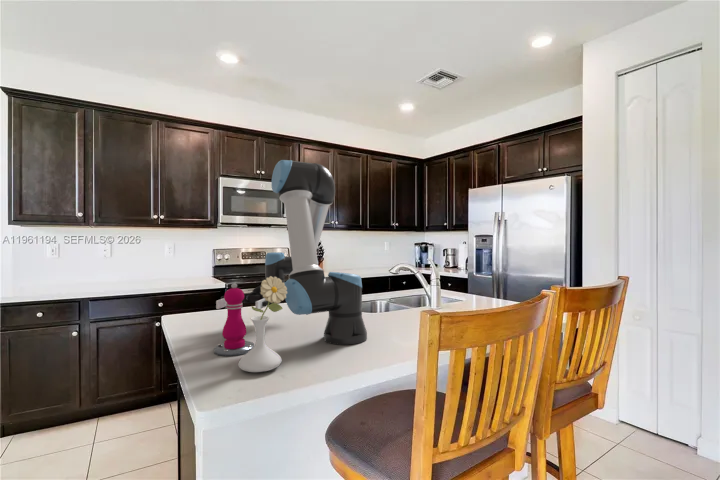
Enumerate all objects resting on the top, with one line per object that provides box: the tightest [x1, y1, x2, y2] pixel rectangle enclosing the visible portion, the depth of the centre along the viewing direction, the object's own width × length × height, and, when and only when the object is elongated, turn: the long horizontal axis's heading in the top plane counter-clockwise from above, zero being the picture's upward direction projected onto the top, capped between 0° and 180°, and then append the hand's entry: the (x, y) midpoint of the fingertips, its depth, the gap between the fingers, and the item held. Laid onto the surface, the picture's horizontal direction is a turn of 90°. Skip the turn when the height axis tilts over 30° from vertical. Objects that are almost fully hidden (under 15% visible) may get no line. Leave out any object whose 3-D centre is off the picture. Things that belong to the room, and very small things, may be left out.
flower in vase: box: [237, 276, 287, 373], centre depth 97 cm, size 13×11×25 cm
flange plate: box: [213, 340, 255, 357], centre depth 113 cm, size 12×12×2 cm
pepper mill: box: [222, 282, 247, 349], centre depth 113 cm, size 7×7×20 cm
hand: (236, 305), depth 114 cm, fingers open, 13 cm apart
